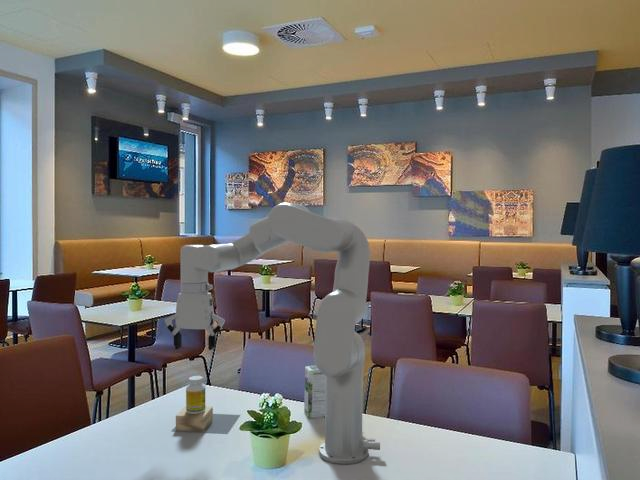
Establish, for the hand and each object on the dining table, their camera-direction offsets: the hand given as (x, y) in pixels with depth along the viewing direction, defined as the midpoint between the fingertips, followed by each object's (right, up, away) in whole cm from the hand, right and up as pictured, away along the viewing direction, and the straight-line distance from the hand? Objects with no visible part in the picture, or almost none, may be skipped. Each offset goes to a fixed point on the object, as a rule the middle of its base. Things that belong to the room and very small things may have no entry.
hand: (194, 348), depth 144 cm
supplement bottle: (0, -18, 0) cm, 18 cm away
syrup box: (+34, -23, +12) cm, 43 cm away
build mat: (+3, -23, +2) cm, 23 cm away
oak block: (0, -22, +1) cm, 22 cm away
